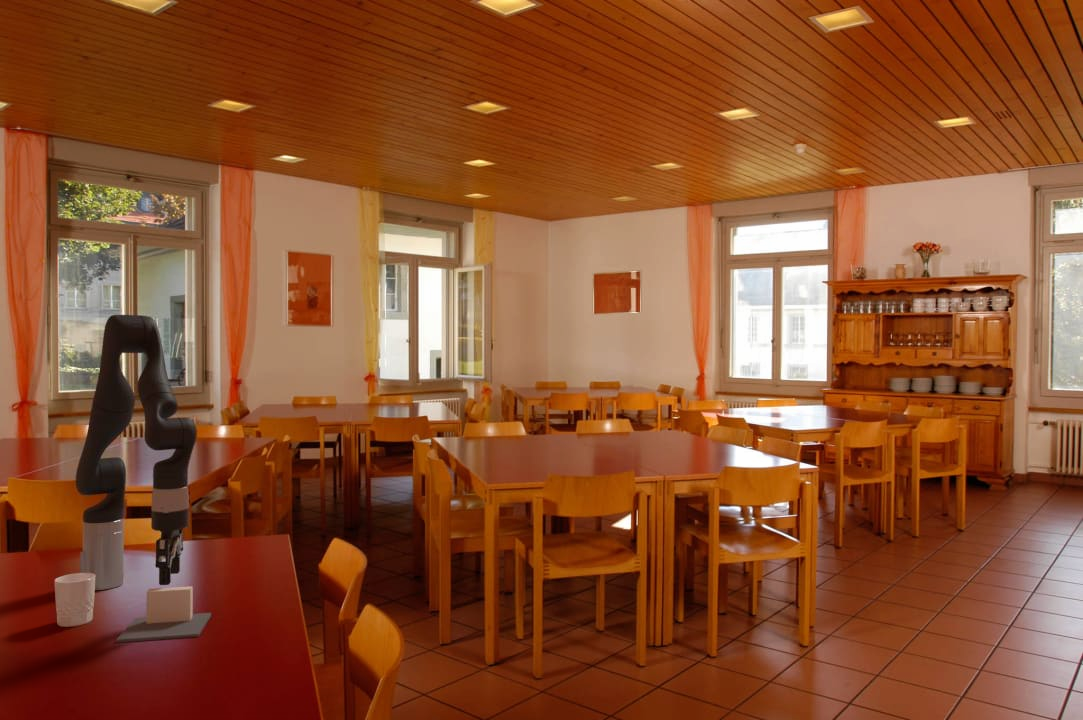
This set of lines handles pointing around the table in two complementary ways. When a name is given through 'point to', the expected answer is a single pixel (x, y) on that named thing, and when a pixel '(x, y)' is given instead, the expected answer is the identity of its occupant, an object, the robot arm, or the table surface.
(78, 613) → the white cup
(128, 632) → the mat
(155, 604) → the beige flat block
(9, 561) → the table surface
